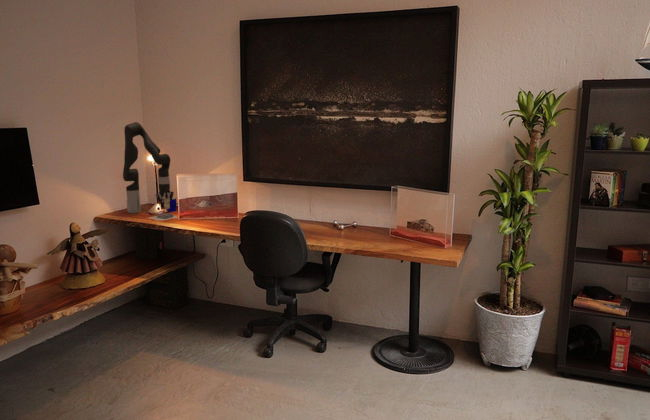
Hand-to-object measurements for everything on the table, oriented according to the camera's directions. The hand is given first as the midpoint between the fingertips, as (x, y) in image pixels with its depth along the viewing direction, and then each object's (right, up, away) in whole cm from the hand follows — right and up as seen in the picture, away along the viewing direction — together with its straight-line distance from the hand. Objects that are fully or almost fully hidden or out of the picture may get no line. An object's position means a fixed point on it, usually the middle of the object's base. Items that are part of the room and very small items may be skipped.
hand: (165, 206), depth 366 cm
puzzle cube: (-9, -4, +35) cm, 36 cm away
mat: (-5, -8, +12) cm, 15 cm away
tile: (-8, -6, +15) cm, 18 cm away
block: (0, -1, 0) cm, 1 cm away
